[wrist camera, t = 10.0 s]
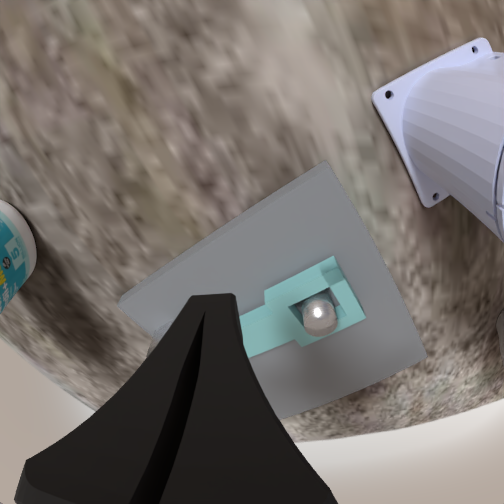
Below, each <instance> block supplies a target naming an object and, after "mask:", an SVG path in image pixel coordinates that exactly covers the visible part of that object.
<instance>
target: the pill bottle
mask: <svg viewBox="0 0 504 504" xmlns="http://www.w3.org/2000/svg"><path fill="white" fill-rule="evenodd" d="M36 258H37V253H36V245H35V241H34V237H33V235H32V232H31V230H30V228H29V226H28V224H27V222H26V221H25V219H24V218H23V217H22V215H21V214H20V213H19V212H18V211H17V210H16V209H15V208H14V207H13V206H11V205H10V204H9V203H7V202H5V201H3V200H0V314H1V312H2V311H3V309H4V308H5V307H6V305H7V304H8V303H9V302H10V300H11V299H12V298H13V296H14V295H15V294H16V292H17V291H18V290H19V289H20V287H21V286H22V285H23V284H24V283H25V281H26V280H27V279H28V278H29V276H30V275H31V274H32V272H33V270H34V268H35V264H36Z"/></svg>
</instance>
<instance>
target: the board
mask: <svg viewBox="0 0 504 504" xmlns="http://www.w3.org/2000/svg"><path fill="white" fill-rule="evenodd" d="M332 256H334V257H335V259H336V260H337V262H338V264H339V266H340V267H341V269H342V271H343V273H344V274H345V276H346V278H347V280H348V281H349V283H350V285H351V287H352V289H353V290H354V292H355V294H356V296H357V298H358V299H359V301H360V303H361V305H362V307H363V310H364V313H365V316H366V319H363V320H361V321H359V322H357V323H355V324H353V325H351V326H349V327H347V328H344V329H342V330H340V331H338V332H336V333H333V334H331V335H329V336H327V337H324V338H322V339H320V340H317V341H315V342H313V343H310V344H308V345H306V346H303V347H301V346H300V345H299V343H298V342H297V341H296V340H295V339H294V340H292V341H289V342H287V343H285V344H282V345H280V346H277V347H275V348H273V349H270V350H268V351H265V352H263V353H260V354H258V355H255V356H252V357H250V358H248V359H249V361H250V363H251V366H252V368H253V371H254V373H255V375H256V377H257V380H258V382H259V384H260V386H261V388H262V390H263V392H264V394H265V396H266V398H267V400H268V401H269V403H270V405H271V407H272V409H273V410H274V412H275V414H276V416H277V417H278V419H279V420H281V419H284V418H287V417H290V416H293V415H296V414H299V413H302V412H305V411H308V410H310V409H313V408H316V407H319V406H321V405H324V404H327V403H329V402H332V401H334V400H337V399H339V398H342V397H344V396H347V395H349V394H352V393H354V392H356V391H359V390H361V389H363V388H366V387H368V386H370V385H372V384H374V383H377V382H379V381H381V380H383V379H385V378H387V377H390V376H392V375H394V374H396V373H398V372H400V371H402V370H404V369H406V368H408V367H410V366H412V365H414V364H416V363H417V362H419V361H421V360H423V359H425V358H427V357H428V356H427V353H426V351H425V348H424V346H423V344H422V341H421V339H420V337H419V334H418V332H417V330H416V327H415V325H414V323H413V321H412V318H411V316H410V314H409V312H408V309H407V307H406V305H405V303H404V301H403V299H402V297H401V294H400V292H399V290H398V288H397V286H396V284H395V282H394V280H393V278H392V276H391V274H390V272H389V270H388V268H387V266H386V264H385V262H384V260H383V258H382V256H381V254H380V252H379V251H378V249H377V247H376V245H375V243H374V241H373V239H372V237H371V236H370V234H369V232H368V230H367V228H366V226H365V225H364V223H363V221H362V219H361V218H360V216H359V214H358V212H357V210H356V209H355V207H354V205H353V204H352V202H351V200H350V198H349V197H348V195H347V193H346V192H345V190H344V188H343V187H342V185H341V183H340V182H339V180H338V178H337V177H336V175H335V174H334V172H333V170H332V169H331V167H330V166H329V164H328V163H327V161H326V160H325V161H323V162H322V163H320V164H318V165H317V166H315V167H314V168H312V169H310V170H309V171H307V172H306V173H304V174H302V175H301V176H299V177H298V178H296V179H294V180H293V181H291V182H290V183H288V184H287V185H285V186H283V187H282V188H280V189H279V190H277V191H276V192H274V193H272V194H271V195H269V196H268V197H266V198H265V199H263V200H262V201H260V202H259V203H257V204H255V205H254V206H252V207H251V208H249V209H248V210H246V211H245V212H243V213H242V214H240V215H239V216H237V217H236V218H234V219H233V220H231V221H230V222H228V223H227V224H225V225H223V226H222V227H220V228H219V229H217V230H216V231H214V232H213V233H212V234H210V235H209V236H207V237H206V238H204V239H203V240H201V241H200V242H198V243H197V244H195V245H194V246H192V247H191V248H189V249H188V250H186V251H185V252H183V253H182V254H181V255H179V256H178V257H176V258H175V259H173V260H172V261H170V262H169V263H167V264H166V265H165V266H163V267H162V268H160V269H159V270H157V271H156V272H155V273H153V274H152V275H150V276H149V277H147V278H146V279H145V280H143V281H142V282H140V283H139V284H137V285H136V286H135V287H133V288H132V289H130V290H129V291H128V292H126V293H125V294H123V295H122V297H121V299H120V301H119V303H118V305H117V306H118V307H119V308H120V309H121V310H122V311H123V312H124V313H125V314H126V315H128V316H129V317H130V318H131V319H132V320H133V321H134V322H136V323H137V324H138V325H139V326H140V327H141V328H143V329H144V330H145V331H146V332H147V333H149V334H150V335H151V336H152V337H153V334H154V331H155V329H157V328H159V327H161V326H162V325H164V324H166V323H168V322H170V321H171V320H175V319H176V317H177V316H178V314H179V313H180V311H181V310H182V308H183V307H184V305H185V304H186V302H187V301H188V299H189V298H190V297H191V296H192V295H206V294H221V293H232V294H234V295H235V296H236V301H237V306H238V312H239V316H241V315H244V314H246V313H248V312H250V311H252V310H254V309H256V308H259V307H261V306H263V305H265V296H264V291H265V290H267V289H269V288H271V287H273V286H275V285H277V284H279V283H281V282H283V281H285V280H287V279H289V278H291V277H293V276H295V275H297V274H299V273H301V272H303V271H305V270H307V269H308V268H310V267H312V266H314V265H316V264H318V263H320V262H322V261H324V260H326V259H328V258H330V257H332ZM328 289H329V291H330V294H331V298H332V301H333V305H334V308H335V307H337V306H339V305H340V303H339V301H338V300H337V298H336V297H335V295H334V293H333V292H332V290H331V289H330V287H328ZM294 305H295V306H296V308H297V309H298V310H299V312H300V313H301V314H302V308H301V301H299V302H297V303H295V304H294ZM302 316H303V315H302Z"/></svg>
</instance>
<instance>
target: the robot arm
mask: <svg viewBox="0 0 504 504" xmlns="http://www.w3.org/2000/svg"><path fill="white" fill-rule="evenodd" d="M472 47H473V48H474V50H475V51H474V53H473V52H472ZM388 90H389V91H390V92H391V97H390V98H389V99H387V98H386V97H385V92H386V91H388ZM372 102H373V104H374V106H375V107H376V109H377V111H378V113H379V115H380V116H381V118H382V120H383V122H384V124H385V126H386V128H387V130H388V131H389V133H390V135H391V137H392V139H393V141H394V143H395V145H396V147H397V149H398V151H399V153H400V155H401V157H402V160H403V162H404V164H405V166H406V168H407V170H408V172H409V175H410V177H411V179H412V181H413V184H414V186H415V188H416V191H417V193H418V195H419V198H420V200H421V203H422V204H423V205H424V206H425V207H428V208H430V207H432V206H434V205H435V204H437V203H438V202H440V201H442V200H443V199H445V198H446V197H448V196H449V195H452V196H453V197H454V198H455V199H456V200H458V201H459V202H460V203H461V204H462V205H463V206H465V207H466V208H467V209H468V210H469V211H470V212H471V213H473V214H474V215H475V216H476V217H477V218H478V219H479V220H480V221H481V222H482V223H484V224H485V225H486V226H487V227H488V228H489V229H490V230H491V231H492V232H493V233H494V234H495V235H496V236H497V237H498V238H499V239H500V240H501V241H502V242H503V243H504V53H500V52H493V51H492V49H491V47H490V44H489V42H488V41H487V40H486V39H485V38H477V39H475V40H473V41H471V42H468V43H466V44H464V45H462V46H460V47H458V48H456V49H454V50H452V51H450V52H448V53H446V54H444V55H442V56H439V57H438V58H436V59H434V60H432V61H430V62H428V63H426V64H424V65H422V66H420V67H418V68H416V69H414V70H412V71H410V72H409V73H407V74H405V75H403V76H401V77H399V78H397V79H396V80H394V81H392V82H390V83H388V84H386V85H385V86H383V87H381V88H379V89H377V90H376V91H375V92H373V94H372ZM435 193H437V195H436V197H435V198H433V195H434V194H435ZM14 500H15V502H16V503H17V504H338V503H337V501H336V499H335V497H334V496H333V494H332V492H331V490H330V488H329V487H328V486H327V485H326V483H325V482H324V481H323V480H322V479H321V478H320V476H319V475H318V474H317V473H316V471H315V470H314V469H313V468H312V467H311V465H310V464H309V463H308V461H307V460H306V459H305V457H304V456H303V455H302V453H301V452H300V451H299V449H298V448H297V446H296V445H295V444H294V442H293V441H292V439H291V437H290V436H289V434H288V433H287V431H286V430H285V428H284V427H283V425H282V423H281V422H280V420H279V419H278V417H277V416H276V414H275V412H274V410H273V409H272V407H271V405H270V403H269V401H268V400H267V398H266V396H265V394H264V392H263V390H262V388H261V386H260V384H259V382H258V380H257V377H256V375H255V373H254V371H253V368H252V366H251V363H250V361H249V359H248V356H247V353H246V351H245V348H244V345H243V334H242V329H241V323H240V318H239V312H238V306H237V301H236V296H235V295H234V294H232V293H221V294H206V295H192V296H191V297H190V298H189V299H188V301H187V302H186V304H185V305H184V307H183V308H182V310H181V311H180V313H179V314H178V316H177V317H176V319H175V320H174V322H173V323H172V325H171V326H170V327H169V329H168V330H167V332H166V333H165V334H164V336H163V337H162V339H161V340H160V341H159V343H158V344H157V346H156V347H155V348H154V349H153V351H152V352H151V353H150V355H149V356H148V357H147V358H146V360H145V361H144V362H143V363H142V365H141V366H140V367H139V368H138V369H137V371H136V372H135V373H134V374H133V375H132V376H131V378H130V379H129V380H128V381H127V382H126V383H125V384H124V385H123V386H122V387H121V388H120V389H119V390H118V392H117V393H116V394H115V395H114V396H113V397H111V398H110V399H109V400H108V401H107V402H106V403H105V404H104V405H103V406H102V407H101V408H100V409H98V410H97V411H96V412H95V413H94V414H93V415H92V416H91V417H90V418H88V419H87V420H86V421H85V422H83V423H82V424H81V425H79V426H78V427H77V428H76V429H74V430H73V431H72V432H70V433H69V434H68V435H66V436H65V437H64V438H62V439H60V440H59V441H57V442H56V443H54V444H53V445H51V446H49V447H48V448H46V449H45V450H43V451H41V452H40V453H38V454H36V455H34V456H33V457H31V458H29V459H27V460H26V462H25V465H24V468H23V471H22V474H21V477H20V480H19V484H18V487H17V490H16V494H15V498H14ZM0 504H2V503H0Z"/></svg>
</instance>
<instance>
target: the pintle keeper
mask: <svg viewBox="0 0 504 504" xmlns="http://www.w3.org/2000/svg"><path fill="white" fill-rule="evenodd" d="M301 308H302V315H303V322H304V328H305V331H306V332H307V333H308V334H309V335H311V336H315V337H322V336H326V335H328V334H330V333H332V332H333V331H334V330H335V329H336V327H337V325H338V321H337V317H336V313H335V309H334V305H333V301H332V298H331V294H330V291H329V289H328V288H326V289H324V290H322V291H320V292H318V293H316V294H314V295H312V296H310V297H308V298H305V299H303V300H301ZM173 322H174V320H171V321H170V322H168V323H166V324H164V325H162V326H161V327H159V328H157V329H155V331H154V334H153V337H152V341H151V344H150V347H149V350H148V353H147V356H146V357H148V356H149V355H150V353H151V352H152V351H153V349H154V348H155V347H156V346H157V344H158V343H159V341H160V340H161V339H162V337H163V336H164V334H165V333H166V332H167V330H168V329H169V327H170V326H171V325H172V323H173Z"/></svg>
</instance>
